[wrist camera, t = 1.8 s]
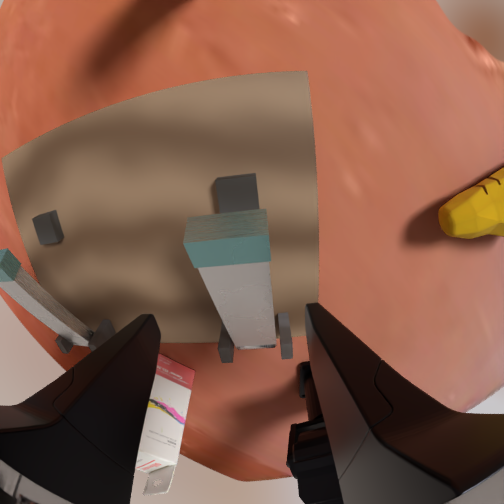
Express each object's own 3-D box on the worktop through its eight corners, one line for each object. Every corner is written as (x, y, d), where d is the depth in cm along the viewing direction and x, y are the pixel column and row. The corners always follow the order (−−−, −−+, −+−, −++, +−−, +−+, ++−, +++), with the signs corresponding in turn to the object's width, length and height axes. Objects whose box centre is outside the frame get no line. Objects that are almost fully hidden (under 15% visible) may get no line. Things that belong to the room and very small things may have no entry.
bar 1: (101, 335, 22) (99, 349, 21) (77, 334, 22) (75, 346, 21) (7, 248, 12) (-2, 266, 11) (-13, 252, 12) (-20, 269, 11)
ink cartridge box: (156, 350, 26) (116, 473, 13) (197, 369, 28) (174, 493, 14) (135, 383, 30) (102, 481, 16) (169, 399, 31) (147, 497, 18)
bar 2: (276, 333, 21) (278, 349, 20) (236, 335, 21) (236, 352, 20) (266, 208, 11) (269, 234, 10) (187, 217, 11) (182, 243, 10)
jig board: (313, 319, 24) (324, 364, 19) (75, 326, 26) (53, 358, 21) (302, 76, 15) (319, 58, 10) (15, 153, 17) (-25, 167, 12)
